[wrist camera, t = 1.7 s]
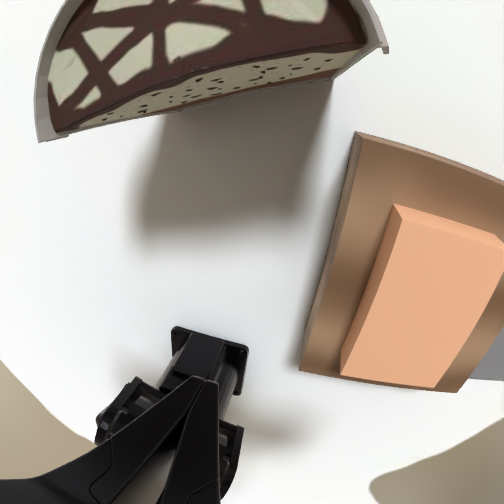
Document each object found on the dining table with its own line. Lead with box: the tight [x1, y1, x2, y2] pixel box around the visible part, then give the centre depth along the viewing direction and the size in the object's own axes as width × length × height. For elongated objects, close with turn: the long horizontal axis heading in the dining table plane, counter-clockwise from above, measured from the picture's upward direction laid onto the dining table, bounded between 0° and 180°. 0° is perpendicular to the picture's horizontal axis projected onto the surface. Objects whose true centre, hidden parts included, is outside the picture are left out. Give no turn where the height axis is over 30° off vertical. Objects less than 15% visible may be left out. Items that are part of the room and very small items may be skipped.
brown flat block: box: [299, 131, 504, 393], centre depth 16 cm, size 14×12×4 cm
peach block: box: [340, 204, 504, 388], centre depth 14 cm, size 9×6×2 cm, turn 172°
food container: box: [34, 0, 389, 143], centre depth 10 cm, size 12×6×10 cm, turn 102°
